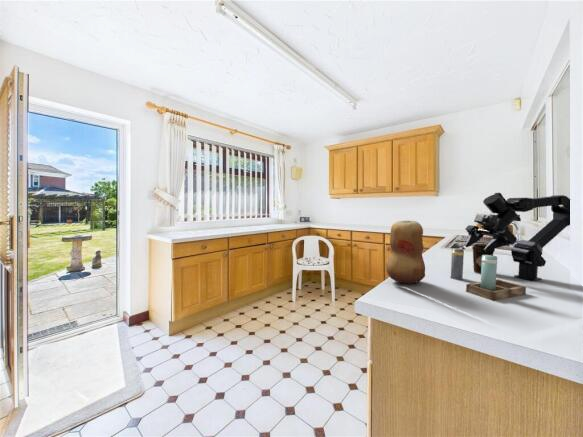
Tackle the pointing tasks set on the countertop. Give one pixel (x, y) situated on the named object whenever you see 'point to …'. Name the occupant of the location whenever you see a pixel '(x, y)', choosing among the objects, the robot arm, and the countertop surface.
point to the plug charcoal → (457, 264)
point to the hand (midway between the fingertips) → (474, 248)
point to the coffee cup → (479, 256)
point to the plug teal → (488, 272)
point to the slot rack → (497, 290)
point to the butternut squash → (406, 252)
